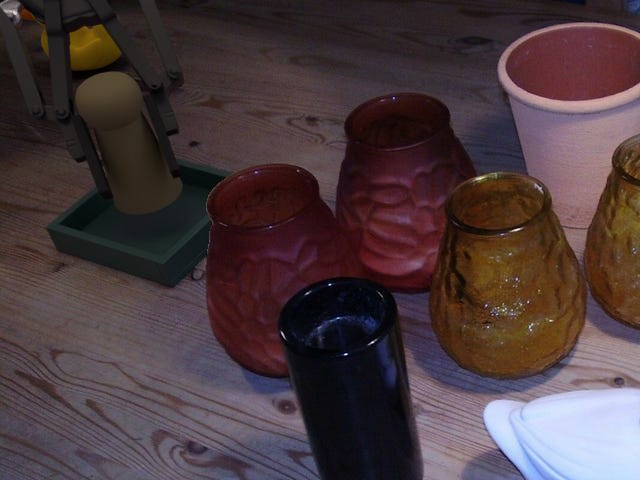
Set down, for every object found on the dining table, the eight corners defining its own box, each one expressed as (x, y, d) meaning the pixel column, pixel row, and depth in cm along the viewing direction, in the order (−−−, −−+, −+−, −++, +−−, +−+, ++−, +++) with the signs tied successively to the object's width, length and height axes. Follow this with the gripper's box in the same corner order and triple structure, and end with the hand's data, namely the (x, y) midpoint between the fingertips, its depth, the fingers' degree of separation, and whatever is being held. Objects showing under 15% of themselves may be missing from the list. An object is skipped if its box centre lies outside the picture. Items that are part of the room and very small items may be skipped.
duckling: (29, 82, 111) (-11, -4, 104) (47, 57, 115) (9, -27, 108) (126, 76, 110) (92, -11, 103) (141, 52, 114) (109, -34, 107)
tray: (56, 250, 89) (45, 227, 87) (150, 171, 96) (140, 148, 94) (173, 287, 84) (162, 263, 82) (262, 201, 91) (254, 177, 89)
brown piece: (196, 186, 87) (154, 73, 80) (141, 223, 84) (92, 109, 77) (154, 165, 90) (110, 54, 83) (100, 200, 87) (48, 88, 80)
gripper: (-88, -77, 77) (18, 209, 77) (146, -135, 80) (246, 140, 81) (-56, -35, 84) (41, 226, 84) (157, -89, 87) (249, 162, 88)
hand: (141, 184), depth 83 cm, fingers closed on brown piece, 5 cm apart
